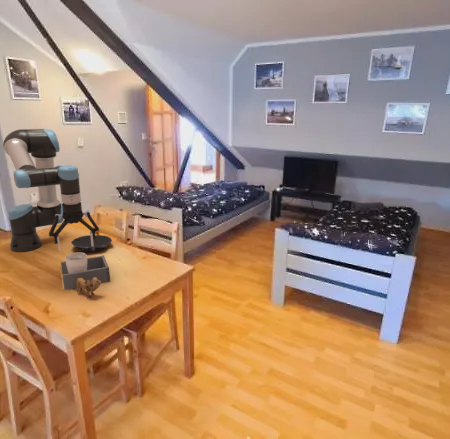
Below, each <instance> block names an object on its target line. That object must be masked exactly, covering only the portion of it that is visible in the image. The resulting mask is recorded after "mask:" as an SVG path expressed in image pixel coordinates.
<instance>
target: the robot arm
mask: <svg viewBox="0 0 450 439" xmlns="http://www.w3.org/2000/svg"><path fill="white" fill-rule="evenodd" d="M57 136H58V135H56V133H55V131H54V130H53V129H50V128H49V129H48V128H30V129H26V128H25V129H23V128H21V129H20V128H19V129H16V130H13V131H11V132H10V133H9V134H7V135H6V136H5V137H4V139H3V143H2V144H3V145H2V146H3V150H4V152H5V154H6V155H8V156H9V157H10V160H11V162H12V164H13V166H14V168H15V170H14V171H13V179H14V180H13V181H14V185H15V186H16V187H17V188H18V189H30V188H36V187H37V189H38V190H37V191H38V197H39V199H38V200H37V202H36V206H33V204H30V203H24V204H19V205H15V206H13V207H12V208H10V209H9V210H8V220H9V225H10V231H11V239H10V243H9V248H10V250H11V251H13V252H16V253H17V252H18V253H24V252H30V251H34V250H37V249H39V248H41V246H43V244H42V240H41V238H40V236H39V235H38V232H37V228H42V227H47V226H51V228H50V230H49V232H48V236H49V237H53V238H54V239H53V240H54V244H55V245H57V247H58V248H57V249H58V252H62V251H61V249H62V248H61V243H60V242H61V241H60V233H61V232H62V231H63V230H64V229H65V227H66V226H68V224H71V225H72V224H78V223H80V224H82V226H85V228H87V229H88V230H89V235H90V237H91V245H92V247H93V246H94V244H93V239H95V238H96V237H95V236H96V232H99V231H100V227H99V226H98V225H97V223H96V222H95V220H94V219H93V218H92V216H91V212H90V210H86V211H85V212H83V208H82V206H83V205H82V202H81V201H82V200H81V199H82V198H81V188H80V186H81V185H80V174H79V169H78V167H77V166H75V165H56V166H55V161H54V160H55V158H56V157H57V153H59V152H60V149H61V148H60V144H59V139H58V137H57ZM31 157H32V158H34V160H35V163H34V161H33V159H32V158H31ZM57 185H58V186H59V188H60V198H61V201H60V200H59V199H58V197H57V187H56V186H57ZM84 216H85V217H86V218H88V220H89V222H90V223H91V225H92V226H91V225H90V224H89V223H88V222H86V221H85V220H84V219H83V217H84ZM58 224H60V225H59V226H58V227H57V225H58ZM56 227H57V229H56Z"/></svg>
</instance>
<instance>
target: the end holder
mask: <svg viewBox="0 0 450 439" xmlns="http://www.w3.org/2000/svg"><path fill="white" fill-rule="evenodd" d="M107 262H108V261H107V259H106V257H105V255H100V256H99V255H98V256H92V257H87V270H86V271H80V272H74V273H68V269H67V266H66V260H65V261H61V262H60V266H61V267H60V268H61V274H60V278H61V284H62V291H66V290H71V289H72V290H73V288H75V287H76V282H77V279H78V278H83V279H84V280H85V281H87V280H90V279H92V278H97V279H98V280H100V281H101V283H100V284H104V283H109V282H111V276H110V267H109V264H108V263H107ZM76 289H77V287H76Z"/></svg>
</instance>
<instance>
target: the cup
mask: <svg viewBox="0 0 450 439" xmlns="http://www.w3.org/2000/svg"><path fill="white" fill-rule="evenodd" d="M87 258H88V256H87V253H86V252H81V251H79V252H77V251H76V252H72V253H69V254H68V255H67V254H66V256H65V261H66V266H67V269H68V273H74V272H80V271H86V270H87Z"/></svg>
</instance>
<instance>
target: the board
mask: <svg viewBox="0 0 450 439" xmlns="http://www.w3.org/2000/svg"><path fill="white" fill-rule="evenodd" d="M95 237H96V238H95V239H93V244H94V246H93V247H92V245H91V237H90V234H89V235H82V236H79V237H76V238H74V239H73V240H71V244H72V246H73V247H74V248H76V249H77V250H79V252H82V253H85V254H87V253H98V252H101V251H103V250H105V249H106V248H107V247H108V244H111V243H112V242H113V239H112V238H111V237H110V236H108V235H102V234H95Z"/></svg>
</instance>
